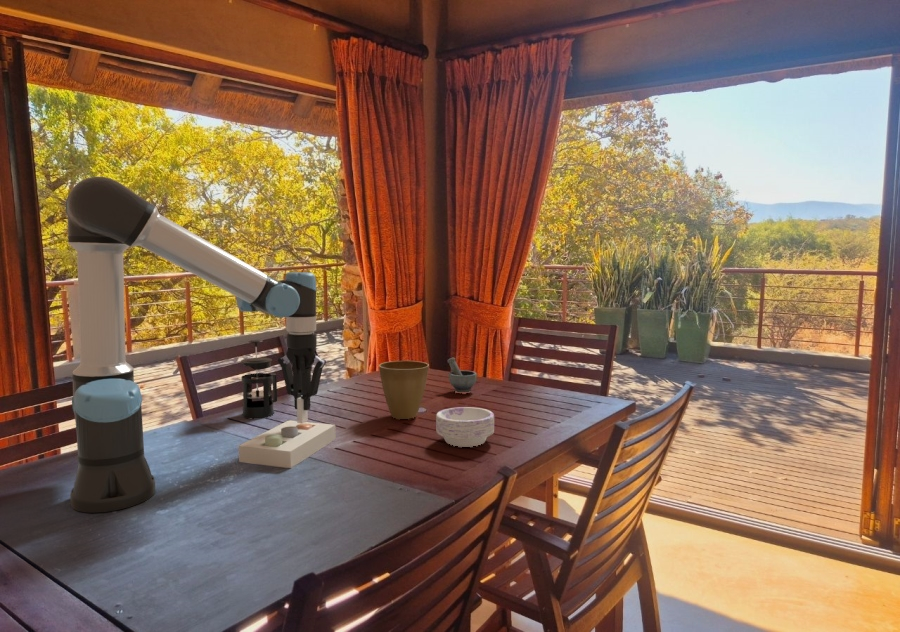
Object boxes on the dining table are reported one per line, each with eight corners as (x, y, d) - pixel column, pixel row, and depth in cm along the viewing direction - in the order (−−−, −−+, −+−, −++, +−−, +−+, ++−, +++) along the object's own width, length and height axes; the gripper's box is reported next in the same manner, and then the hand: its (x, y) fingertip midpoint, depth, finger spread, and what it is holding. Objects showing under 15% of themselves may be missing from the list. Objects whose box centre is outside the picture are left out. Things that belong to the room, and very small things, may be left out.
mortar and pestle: (481, 391, 214) (481, 358, 213) (467, 396, 206) (467, 362, 205) (455, 387, 220) (455, 355, 219) (440, 392, 213) (440, 359, 211)
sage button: (276, 456, 143) (276, 440, 142) (262, 455, 144) (261, 438, 143) (285, 451, 146) (285, 435, 146) (271, 449, 148) (271, 433, 147)
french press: (252, 421, 177) (249, 343, 174) (233, 415, 182) (230, 340, 180) (285, 412, 186) (283, 339, 183) (266, 407, 192) (264, 336, 189)
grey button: (292, 447, 149) (292, 431, 149) (278, 445, 150) (278, 430, 150) (301, 442, 153) (300, 427, 153) (287, 441, 154) (286, 425, 154)
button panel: (290, 468, 139) (290, 451, 139) (239, 461, 143) (238, 445, 143) (335, 439, 160) (335, 424, 160) (289, 434, 164) (288, 420, 164)
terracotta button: (307, 443, 156) (306, 428, 156) (293, 442, 157) (293, 427, 157) (315, 438, 160) (314, 424, 159) (301, 437, 161) (301, 422, 161)
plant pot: (435, 420, 178) (435, 367, 176) (387, 425, 173) (386, 370, 171) (419, 408, 192) (419, 358, 190) (374, 412, 186) (373, 361, 185)
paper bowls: (454, 430, 169) (454, 402, 168) (503, 439, 161) (504, 410, 160) (424, 445, 156) (424, 415, 155) (476, 456, 148) (476, 424, 147)
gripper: (331, 331, 157) (331, 420, 159) (287, 329, 161) (288, 415, 163) (316, 335, 150) (317, 428, 152) (271, 332, 154) (272, 423, 156)
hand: (302, 421), depth 158 cm, fingers closed
